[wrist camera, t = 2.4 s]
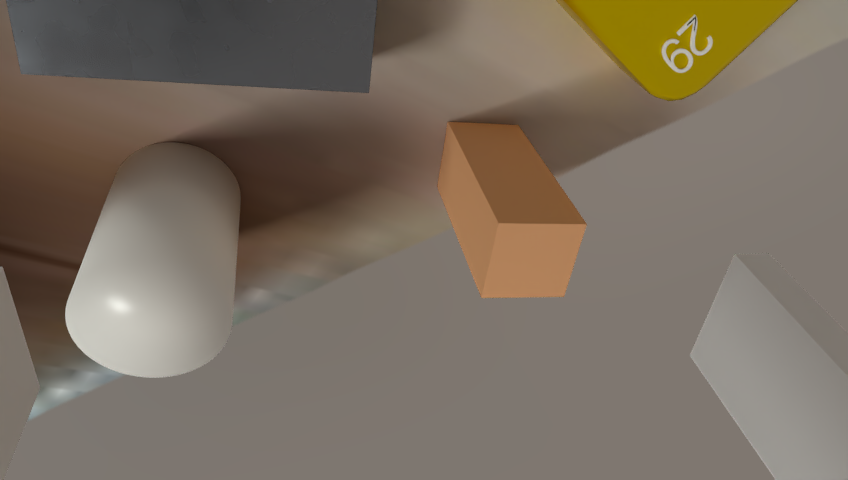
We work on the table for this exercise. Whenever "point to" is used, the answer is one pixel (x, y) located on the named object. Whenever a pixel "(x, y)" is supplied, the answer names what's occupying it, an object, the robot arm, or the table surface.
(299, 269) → the table surface
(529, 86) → the table surface
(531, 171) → the square peg
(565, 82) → the table surface
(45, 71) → the bore block
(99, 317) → the round peg
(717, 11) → the element tile
